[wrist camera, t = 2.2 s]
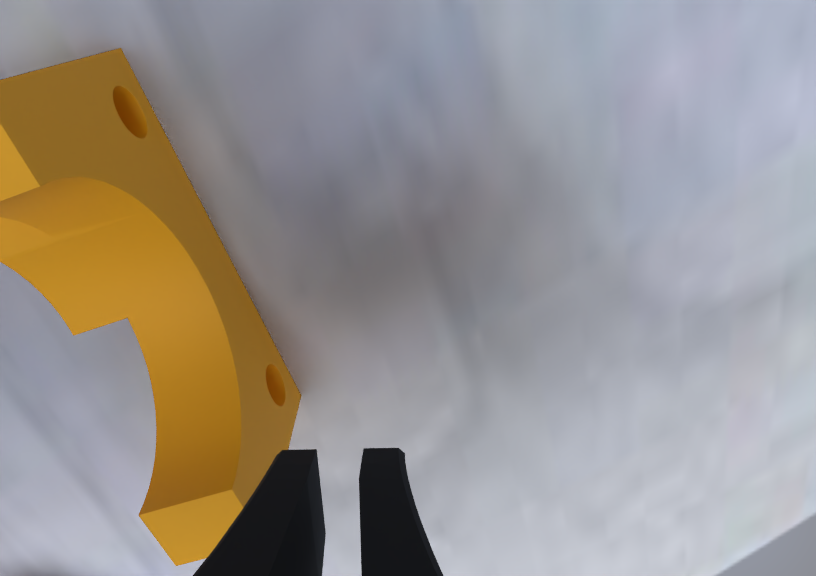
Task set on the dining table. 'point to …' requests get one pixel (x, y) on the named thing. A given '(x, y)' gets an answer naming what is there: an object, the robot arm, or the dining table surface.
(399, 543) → the robot arm
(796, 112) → the dining table surface
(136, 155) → the pipe clamp
